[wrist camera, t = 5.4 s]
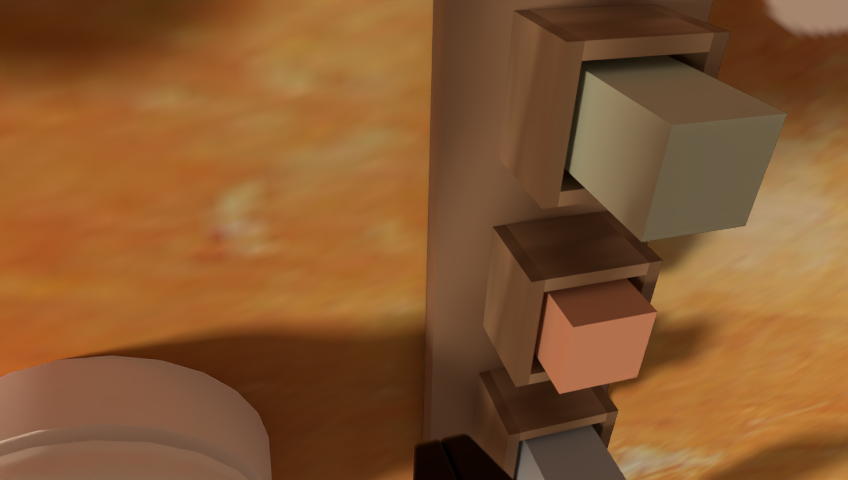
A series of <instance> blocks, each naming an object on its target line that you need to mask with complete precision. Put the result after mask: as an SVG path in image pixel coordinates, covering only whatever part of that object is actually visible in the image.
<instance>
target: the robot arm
mask: <svg viewBox="0 0 848 480" xmlns="http://www.w3.org/2000/svg"><path fill="white" fill-rule="evenodd" d="M413 480H513V479H512V478H511V477H510V476H509V475H508V474H507V473H506V472H505V471H504V470H503V469H502V468H501V467H500V466H499V465H498V464H497V463H496V462H495V461H494V460H493V459H492V458H491V457H490V456H489V455H488V454H487V453H486V452H485V451H484V450H483V449H482V448H481V447H480V446H479V445H478V444H477V443H476V442H475V441H474V440H473V439H472V438H471V437H470V436H469V435H467V434H465V433H460V434H456V435H451V436H447V437H444V438H442V439H441V441H440V440H438V439H433V440H429V441H425V442H420V443H417V444H416V445H415V448H414V473H413Z"/></svg>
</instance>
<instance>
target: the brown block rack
mask: <svg viewBox="0 0 848 480" xmlns="http://www.w3.org/2000/svg"><path fill="white" fill-rule="evenodd" d="M712 4H713V0H434V1H433V41H432V82H431V123H430V163H429V204H428V245H427V285H426V326H425V367H424V407H423V442H425V441H429V440H433V439H438V440H440V441H441V439H442V438H444V437H447V436H451V435H456V434H460V433H465V434H467V435H469V436H470V437H471V438H472V439H473V440H474V441H475V442H476V443H477V444H478V445H479V446H480V447H481V448H482V449H483V450H484V451H485V452H486V453H487V454H488V455H489V456H490V457H491V458H492V459H493V460H494V461H495V462H496V463H497V464H498V465H499V466H500V467H501V468H502V469H503V470H504V471H505V472H506V473H507V474H508V475H509V476H510V477H511V478H512V479H513V480H515V479H514V477H513V476H514V470H515V464H516V458H517V452H518V446H519V441H522V440H526V439H531V438H535V437H539V436H544V435H548V434H552V433H557V432H561V431H565V430H570V429H574V428H578V427H583V426H587V425H592V426H593V428H594V429H595V431H596V433H597V434H598V436H599V437H600V439H601V441H602V442H603V444H604V445H605V447H606V448H608V444H609V441H610V437H611V434H612V431H613V427H614V424H615V421H616V417H617V414H618V409H617V408H616V406H615V405H614V403H613V402H612V401H611V399H610V398H609V396H608V395H607V389H608V386H609V383H608V384H603V385H598V386H594V387H589V388H584V389H580V390H575V391H571V392H566V393H561V394H559V392H558V391H557V389H556V388H555V386H554V384H553V383H552V381H551V379H550V378H549V376H548V374H547V373H546V371H545V369H544V368H543V366H542V364H541V363H540V361H539V359H538V358H537V356H536V354H535V353H534V349H535V343H536V336H537V330H538V324H539V318H540V312H541V306H542V300H543V294H544V292H547V291H553V290H559V289H565V288H571V287H577V286H583V285H589V284H594V283H600V282H606V281H612V280H618V279H624V278H627V279H628V280H629V281H630V283H631V284H632V285H633V286H634V287H635V288H636V289H637V290H638V291H639V292H640V293H641V294H642V296H643V297H644V298H645V299H646V300H647V301H648V302H649V303H650V302H651V299H652V295H653V292H654V288H655V285H656V282H657V278H658V275H659V272H660V268H661V265H662V261H663V260H662V259H661V258H660V257H658V256H657V255H656V254H655V253H654V252H653V251H652V250H651V249H650V248H649V247H648V246H647V242H648V241H645V242H641V241H640V240H639V239H638V238H637V237H636V236H635V235H634V234H632V233H631V232H630V231H629V230H628V229H627V228H626V227H625V226H624V225H623V224H622V223H621V222H620V221H619V220H618V219H617V218H616V217H615V216H614V215H613V214H612V213H611V212H610V211H609V210H608V209H606V208H605V207H604V206H603V205H602V204H601V203H600V202H599V201H598V200H597V199H596V198H595V197H594V196H593V195H592V194H591V193H590V192H589V191H588V190H587V189H586V188H585V187H584V186H583V185H581V184H580V183H579V182H578V181H577V180H576V179H575V178H574V177H573V176H572V175H571V174H570V173H569V172H568V171H567V170H566V169H565V168H564V166H565V160H566V154H567V148H568V142H569V136H570V130H571V124H572V118H573V112H574V106H575V100H576V93H577V87H578V81H579V75H580V69H581V63H582V61H588V60H602V59H616V58H629V57H643V56H657V55H667V56H669V57H671V58H674V59H676V60H678V61H680V62H682V63H684V64H686V65H688V66H690V67H692V68H694V69H696V70H698V71H700V72H703V73H705V74H707V75H709V76H711V77H713V78H715V79H716V78H717V75H718V72H719V68H720V65H721V62H722V58H723V55H724V51H725V48H726V45H727V41H728V38H729V34H730V31H727V30H724V29H722V28H719V27H716V26H714V25H711V24H708V23H707V22H708V18H709V15H710V11H711V7H712Z"/></svg>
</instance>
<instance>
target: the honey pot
mask: <svg viewBox="0 0 848 480" xmlns="http://www.w3.org/2000/svg"><path fill="white" fill-rule="evenodd" d="M0 480H272V474H271V460H270V447H269V436H268V434H267V432H266V429H265V427H264V425H263V423H262V420H261V418H260V416H259V414H258V412H257V411H256V410H255V409H254V408H253V407H252V406H251V405H250V404H249V403H248V402H247V401H246V400H245V399H244V398H243V397H242V396H241V395H240V394H239V393H238V392H237V391H236V390H234V389H233V388H231V387H229V386H227V385H225V384H224V383H222V382H220V381H218V380H216V379H215V378H213V377H211V376H209V375H207V374H206V373H204V372H201V371H197V370H194V369H190V368H187V367H183V366H180V365H177V364H173V363H170V362H166V361H163V360H156V359H145V358H134V357H124V356H113V355H110V356H98V357H86V358H74V359H61V360H56V361H52V362H49V363H45V364H41V365H38V366H34V367H30V368H26V369H23V370H19V371H15V372H11V373H8V374H6V375H4V376H2V377H0Z"/></svg>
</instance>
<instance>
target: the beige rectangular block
mask: <svg viewBox="0 0 848 480" xmlns="http://www.w3.org/2000/svg"><path fill="white" fill-rule="evenodd" d="M786 116H787V113H785V112H783V111H781V110H779V109H777V108H775V107H773V106H771V105H769V104H767V103H765V102H763V101H761V100H758V99H756V98H754V97H752V96H750V95H748V94H746V93H744V92H742V91H740V90H738V89H736V88H734V87H732V86H729V85H727V84H725V83H723V82H721V81H719V80H717V79H715V78H713V77H711V76H709V75H707V74H705V73H703V72H700V71H698V70H696V69H694V68H692V67H690V66H688V65H686V64H684V63H682V62H680V61H678V60H676V59H674V58H671V57H669V56H667V55H657V56H643V57H629V58H616V59H602V60H588V61H582V63H581V69H580V75H579V81H578V87H577V93H576V100H575V106H574V112H573V118H572V124H571V130H570V136H569V142H568V148H567V154H566V160H565V166H564V168H565V169H566V170H567V171H568V172H569V173H570V174H571V175H572V176H573V177H574V178H575V179H576V180H577V181H578V182H579V183H580V184H581V185H583V186H584V187H585V188H586V189H587V190H588V191H589V192H590V193H591V194H592V195H593V196H594V197H595V198H596V199H597V200H598V201H599V202H600V203H601V204H602V205H603V206H604V207H605V208H606V209H608V210H609V211H610V212H611V213H612V214H613V215H614V216H615V217H616V218H617V219H618V220H619V221H620V222H621V223H622V224H623V225H624V226H625V227H626V228H627V229H628V230H629V231H630V232H631V233H632V234H634V235H635V236H636V237H637V238H638V239H639V240H640V241H641V242H645V241H651V240H658V239H664V238H671V237H677V236H683V235H690V234H696V233H703V232H709V231H716V230H722V229H729V228H735V227H742V226H745V225H746V222H747V220H748V217H749V214H750V212H751V209H752V206H753V204H754V201H755V198H756V196H757V193H758V190H759V188H760V185H761V182H762V180H763V177H764V174H765V172H766V169H767V166H768V164H769V161H770V158H771V156H772V153H773V150H774V148H775V145H776V142H777V140H778V137H779V134H780V132H781V129H782V126H783V124H784V121H785V118H786Z"/></svg>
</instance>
